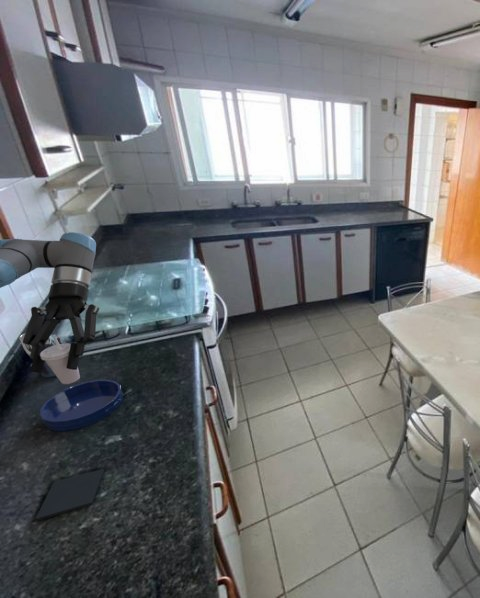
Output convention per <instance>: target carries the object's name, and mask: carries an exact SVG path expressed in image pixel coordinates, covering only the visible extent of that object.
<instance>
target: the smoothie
mask: <svg viewBox="0 0 480 598" xmlns="http://www.w3.org/2000/svg"><path fill="white" fill-rule="evenodd" d="M52 336H53V339H54V341H55V343H56V345H54V346H51V347H49V348H46V349H45V350H43V351H42V352H41V353H40V356H41V359H42V360H45V362H46V363H47V364H48V366H49V367H50V368H51V370H52V371H53V372H54V374H55V375H56V376H55V377H57V379H58V380H59V382H60V383H61V384H62V385H70V384H73V383H75V382H78V380H80V378H81V375H80V371H79V366H78V367H77V370H72V369H67V362H68V357H69V351H70V346H71V343H68V342H65V343H60V342H59V340H58V338H57V335H56V334H53V333H52Z"/></svg>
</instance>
